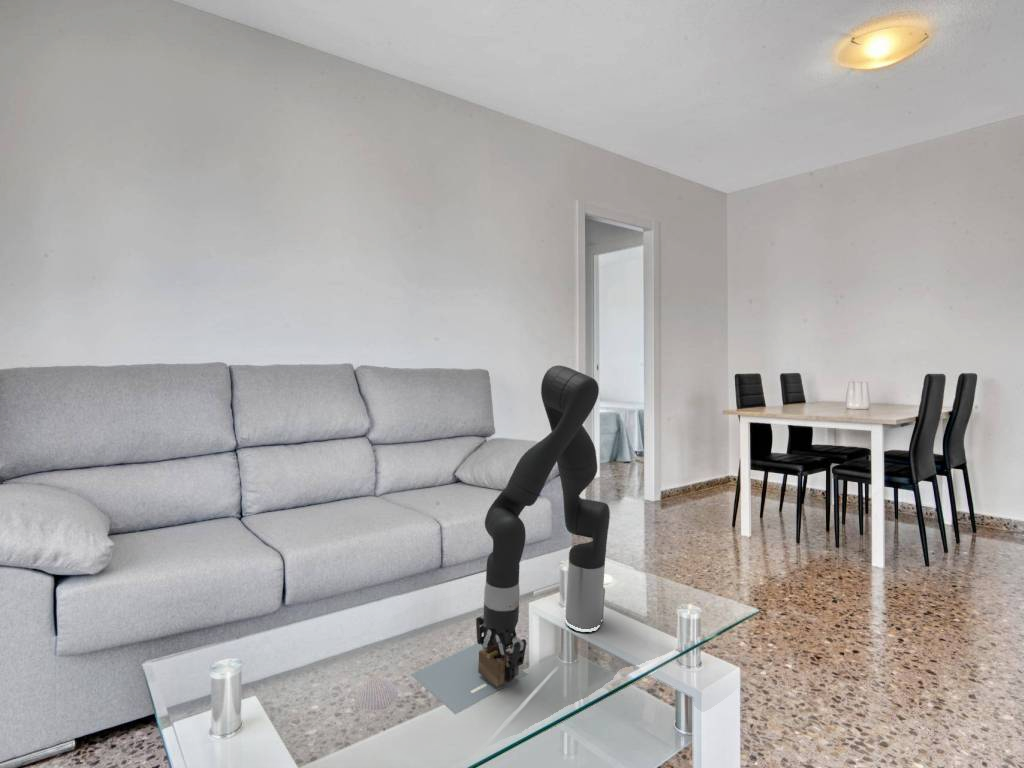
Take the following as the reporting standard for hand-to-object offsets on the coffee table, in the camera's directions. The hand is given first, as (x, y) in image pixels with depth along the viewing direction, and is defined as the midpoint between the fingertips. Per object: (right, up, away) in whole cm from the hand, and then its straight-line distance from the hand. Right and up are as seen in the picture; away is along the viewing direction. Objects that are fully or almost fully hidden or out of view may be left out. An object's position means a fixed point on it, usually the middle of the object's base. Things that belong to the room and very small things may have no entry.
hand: (498, 672), depth 128 cm
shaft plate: (-6, -2, +1) cm, 7 cm away
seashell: (-25, -3, -7) cm, 26 cm away
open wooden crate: (0, 0, 0) cm, 0 cm away
